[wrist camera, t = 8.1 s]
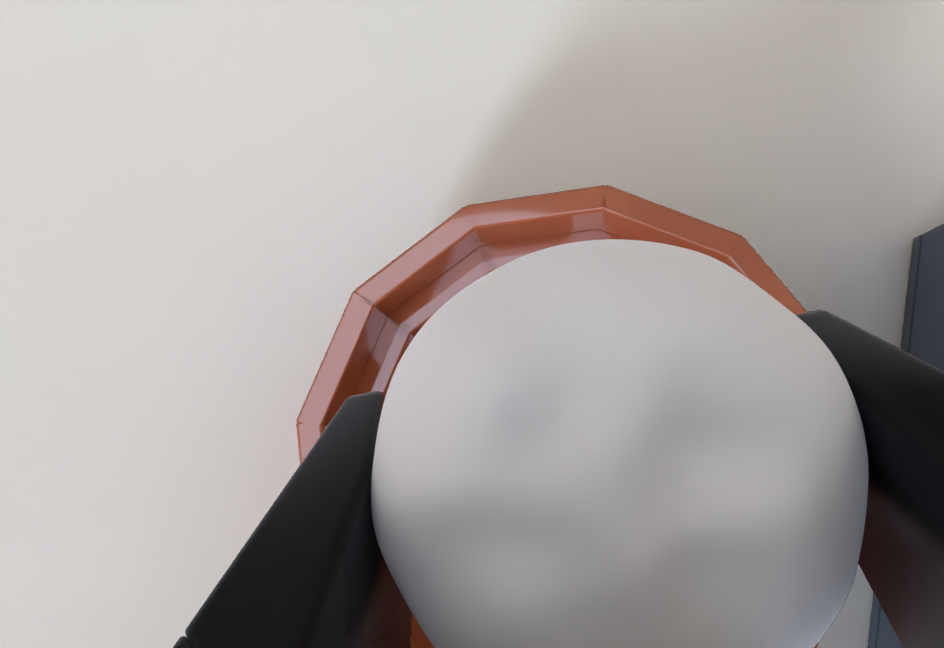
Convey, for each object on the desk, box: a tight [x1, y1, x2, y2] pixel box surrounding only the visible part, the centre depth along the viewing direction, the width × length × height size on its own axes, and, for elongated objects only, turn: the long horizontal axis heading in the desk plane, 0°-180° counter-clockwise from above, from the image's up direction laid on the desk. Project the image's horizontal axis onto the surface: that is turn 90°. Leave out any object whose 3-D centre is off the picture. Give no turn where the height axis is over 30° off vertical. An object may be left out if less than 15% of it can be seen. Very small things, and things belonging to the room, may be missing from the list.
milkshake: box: [371, 239, 869, 648], centre depth 10 cm, size 4×5×10 cm
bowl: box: [296, 185, 819, 648], centre depth 19 cm, size 12×12×4 cm
